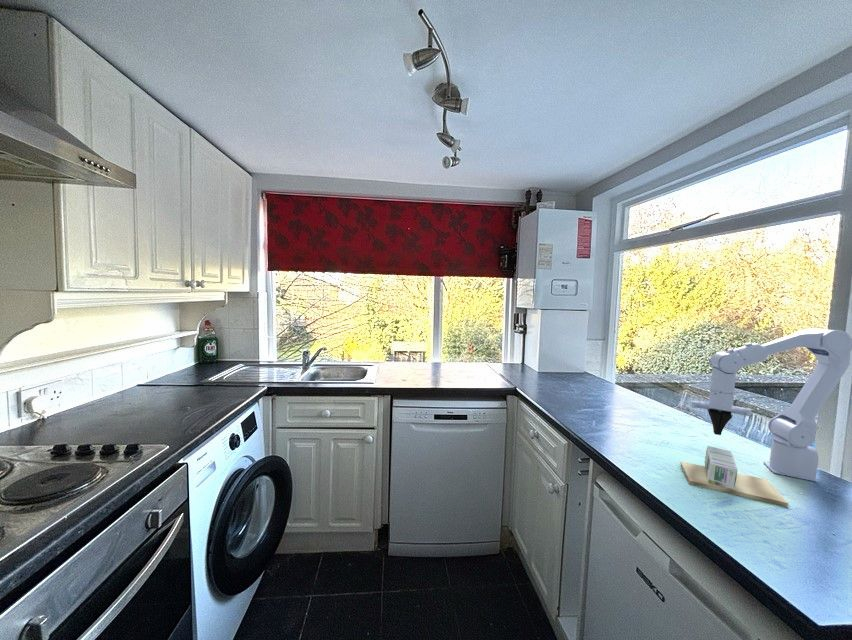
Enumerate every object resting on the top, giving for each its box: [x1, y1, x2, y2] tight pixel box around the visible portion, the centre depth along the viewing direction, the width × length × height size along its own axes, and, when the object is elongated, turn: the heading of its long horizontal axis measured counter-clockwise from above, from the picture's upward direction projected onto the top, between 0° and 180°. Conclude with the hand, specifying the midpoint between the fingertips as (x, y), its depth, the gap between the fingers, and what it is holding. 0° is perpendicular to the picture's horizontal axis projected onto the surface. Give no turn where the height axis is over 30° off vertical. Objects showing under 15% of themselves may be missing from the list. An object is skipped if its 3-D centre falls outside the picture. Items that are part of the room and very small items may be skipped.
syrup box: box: [704, 445, 739, 490], centre depth 100 cm, size 6×6×14 cm
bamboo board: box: [680, 461, 789, 508], centre depth 98 cm, size 20×13×1 cm, turn 63°
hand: (717, 433), depth 111 cm, fingers closed
